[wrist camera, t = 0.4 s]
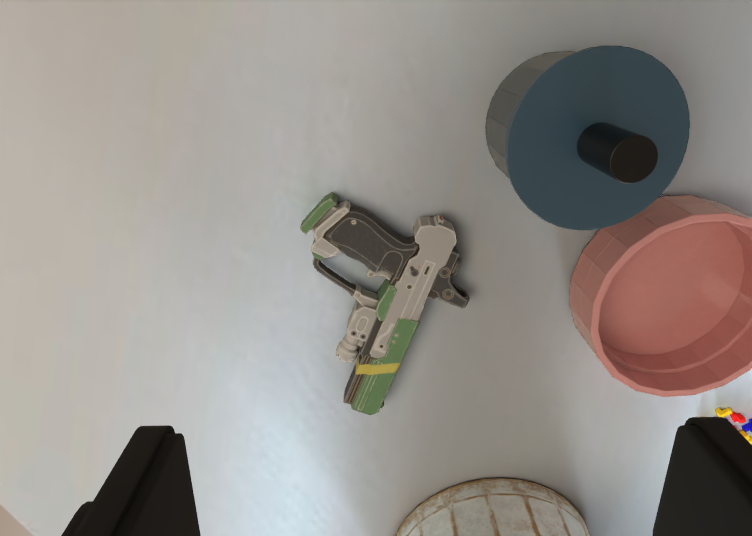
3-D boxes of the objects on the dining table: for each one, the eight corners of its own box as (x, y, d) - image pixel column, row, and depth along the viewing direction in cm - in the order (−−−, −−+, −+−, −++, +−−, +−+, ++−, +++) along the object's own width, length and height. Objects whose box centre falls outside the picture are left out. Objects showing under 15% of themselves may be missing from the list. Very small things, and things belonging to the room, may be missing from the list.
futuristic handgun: (248, 378, 48) (410, 429, 49) (316, 176, 41) (501, 244, 43) (255, 361, 50) (408, 410, 52) (320, 168, 44) (494, 233, 45)
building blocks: (690, 419, 53) (699, 431, 52) (773, 385, 52) (785, 395, 50) (708, 466, 55) (718, 478, 54) (788, 434, 54) (801, 445, 52)
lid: (465, 148, 35) (484, 169, 29) (602, 2, 32) (653, -6, 26) (580, 257, 38) (618, 295, 32) (716, 132, 35) (783, 150, 29)
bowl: (574, 200, 45) (601, 220, 40) (768, 187, 45) (820, 207, 39) (561, 365, 51) (583, 402, 46) (732, 355, 50) (773, 390, 45)
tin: (457, 129, 42) (478, 149, 35) (558, 20, 40) (606, 15, 32) (546, 214, 45) (584, 250, 37) (646, 117, 42) (710, 135, 34)
